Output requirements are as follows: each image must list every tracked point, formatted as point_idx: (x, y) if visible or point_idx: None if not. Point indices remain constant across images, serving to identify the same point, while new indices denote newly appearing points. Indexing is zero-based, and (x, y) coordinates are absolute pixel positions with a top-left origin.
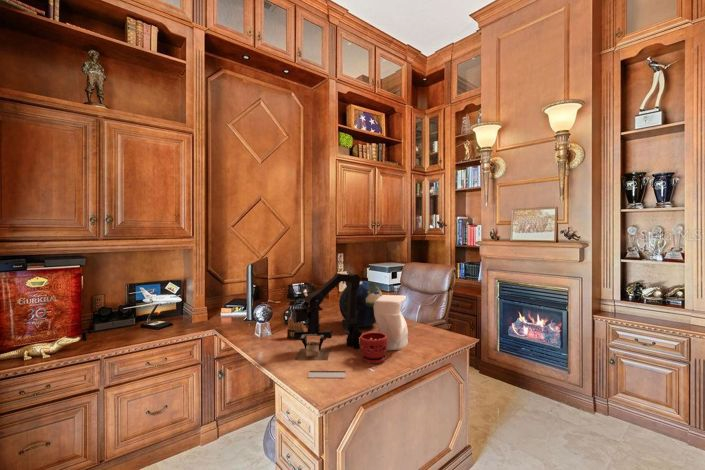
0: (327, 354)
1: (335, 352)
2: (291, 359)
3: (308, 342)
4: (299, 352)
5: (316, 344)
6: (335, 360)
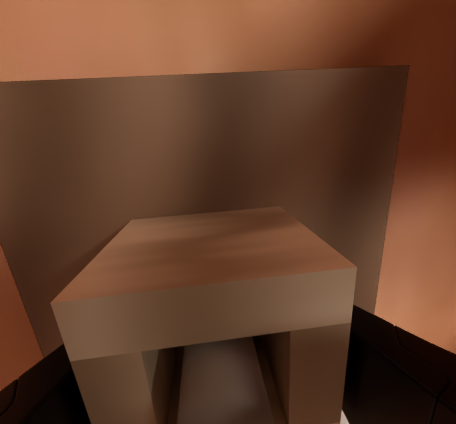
0: (365, 272)
1: (435, 145)
2: (23, 367)
3: (77, 336)
4: (24, 255)
5: (294, 406)
6: (412, 327)
